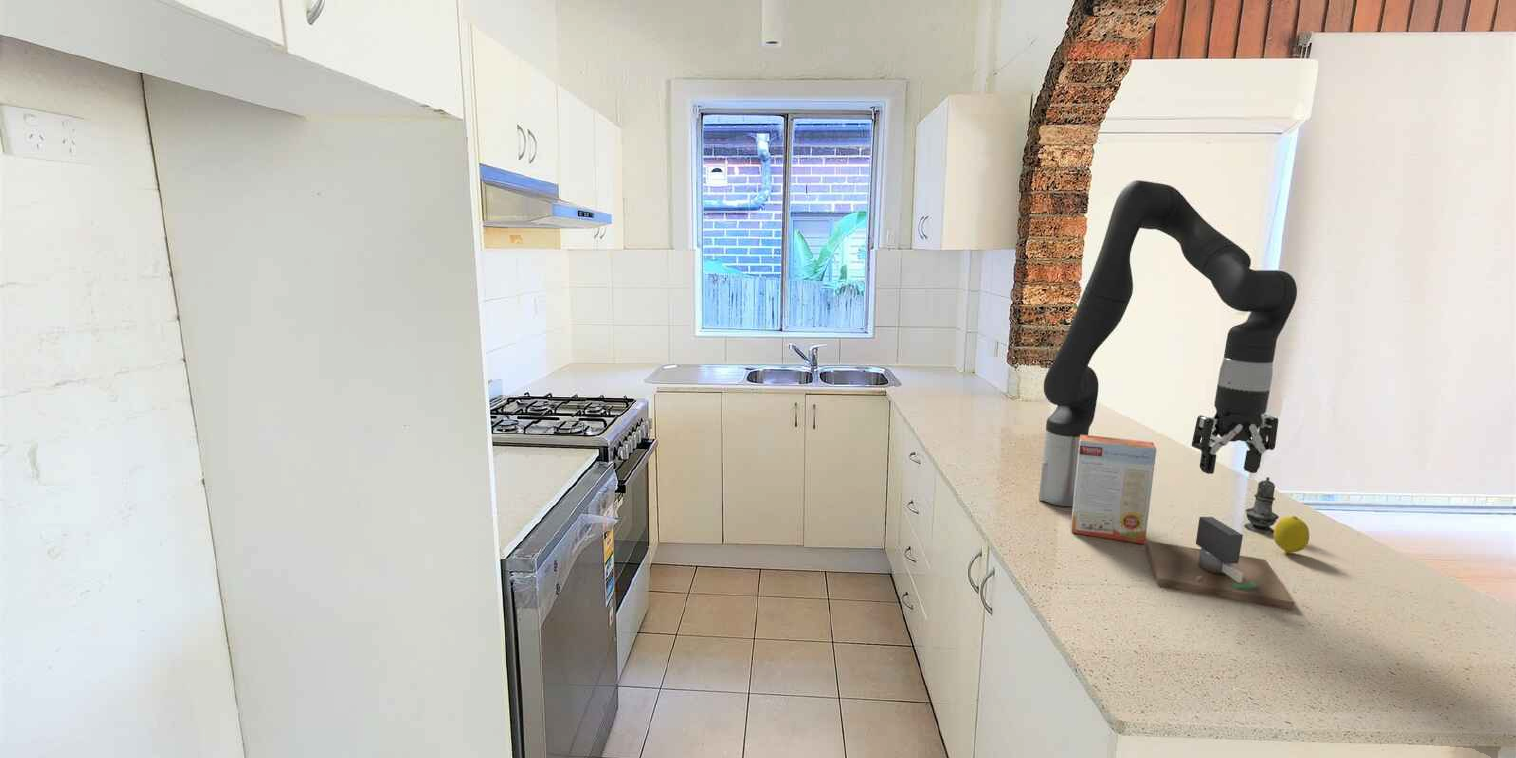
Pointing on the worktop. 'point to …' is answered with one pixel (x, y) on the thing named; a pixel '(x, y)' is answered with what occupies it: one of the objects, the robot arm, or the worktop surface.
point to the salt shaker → (1262, 509)
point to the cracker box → (1113, 488)
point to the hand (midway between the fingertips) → (1228, 472)
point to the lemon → (1291, 534)
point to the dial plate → (1217, 576)
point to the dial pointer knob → (1218, 547)
